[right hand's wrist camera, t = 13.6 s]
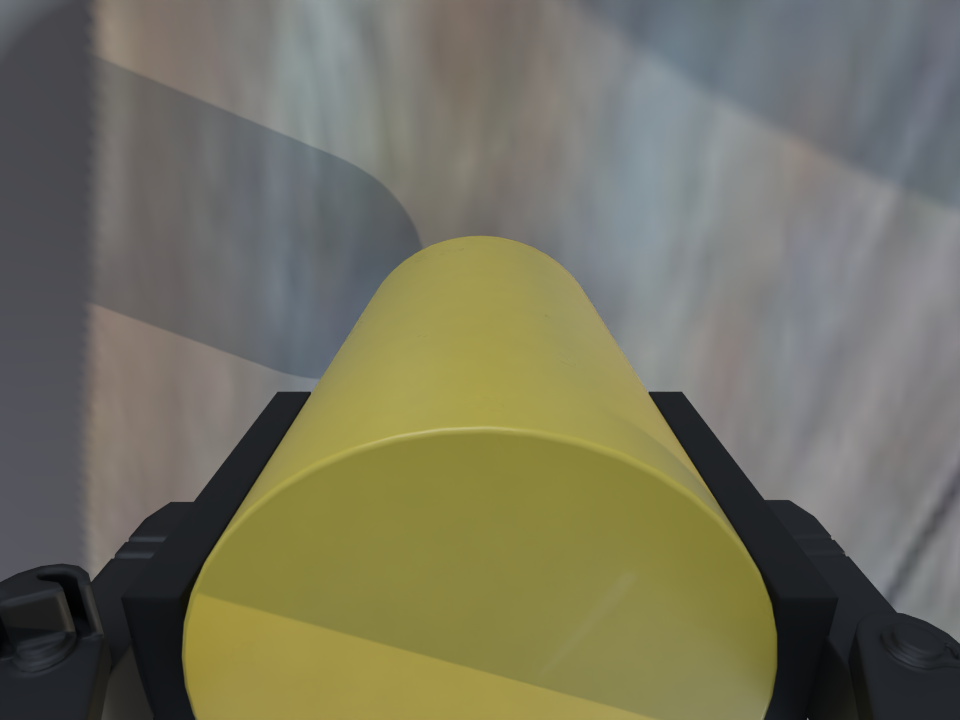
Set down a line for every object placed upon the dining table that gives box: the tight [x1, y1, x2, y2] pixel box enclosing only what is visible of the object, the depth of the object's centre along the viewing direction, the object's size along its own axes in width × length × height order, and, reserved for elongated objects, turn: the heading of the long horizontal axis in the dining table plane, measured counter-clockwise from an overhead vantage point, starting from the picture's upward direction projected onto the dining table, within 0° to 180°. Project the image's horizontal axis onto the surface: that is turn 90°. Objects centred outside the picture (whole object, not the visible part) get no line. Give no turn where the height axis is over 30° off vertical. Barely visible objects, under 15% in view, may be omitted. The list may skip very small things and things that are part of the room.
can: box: [182, 236, 777, 720], centre depth 14 cm, size 8×8×12 cm
